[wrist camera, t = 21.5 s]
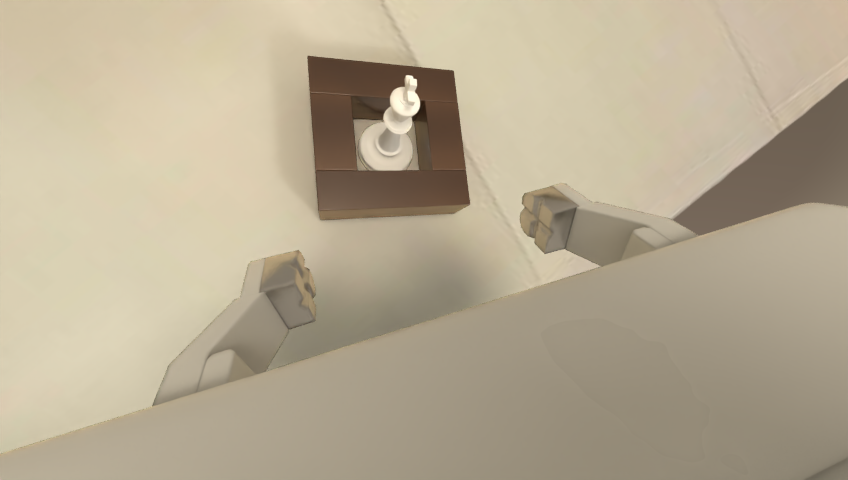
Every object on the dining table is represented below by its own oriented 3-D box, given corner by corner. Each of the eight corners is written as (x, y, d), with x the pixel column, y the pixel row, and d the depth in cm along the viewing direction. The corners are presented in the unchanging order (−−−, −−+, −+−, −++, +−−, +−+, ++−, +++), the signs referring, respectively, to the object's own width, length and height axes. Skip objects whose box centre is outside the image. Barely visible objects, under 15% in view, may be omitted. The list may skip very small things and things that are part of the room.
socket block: (454, 213, 28) (470, 204, 25) (320, 220, 25) (318, 210, 22) (440, 93, 30) (453, 70, 26) (310, 83, 26) (307, 55, 23)
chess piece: (359, 177, 26) (374, 119, 17) (356, 123, 27) (368, 37, 17) (414, 177, 28) (456, 124, 18) (409, 126, 28) (448, 48, 19)
